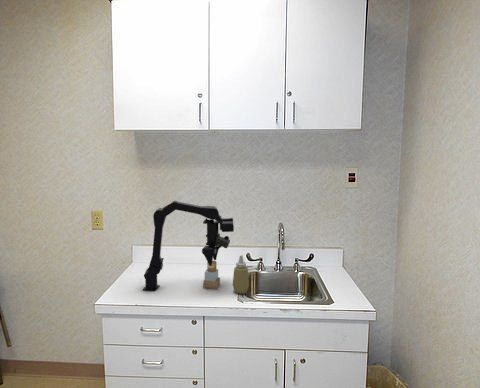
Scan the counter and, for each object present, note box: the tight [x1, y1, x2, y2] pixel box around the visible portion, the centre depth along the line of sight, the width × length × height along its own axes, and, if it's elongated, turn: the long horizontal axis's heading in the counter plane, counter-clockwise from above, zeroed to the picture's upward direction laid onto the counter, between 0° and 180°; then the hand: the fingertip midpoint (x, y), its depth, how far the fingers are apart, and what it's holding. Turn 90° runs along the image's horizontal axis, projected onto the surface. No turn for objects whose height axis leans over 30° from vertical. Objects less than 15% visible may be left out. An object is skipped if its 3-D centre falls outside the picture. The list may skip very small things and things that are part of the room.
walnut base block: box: [202, 276, 221, 290], centre depth 182 cm, size 7×7×4 cm
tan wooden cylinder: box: [206, 260, 218, 272], centre depth 181 cm, size 5×5×4 cm
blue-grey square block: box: [204, 268, 219, 282], centre depth 182 cm, size 6×6×4 cm
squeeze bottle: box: [232, 255, 250, 295], centre depth 175 cm, size 8×8×18 cm
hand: (212, 262), depth 181 cm, fingers open, 9 cm apart
